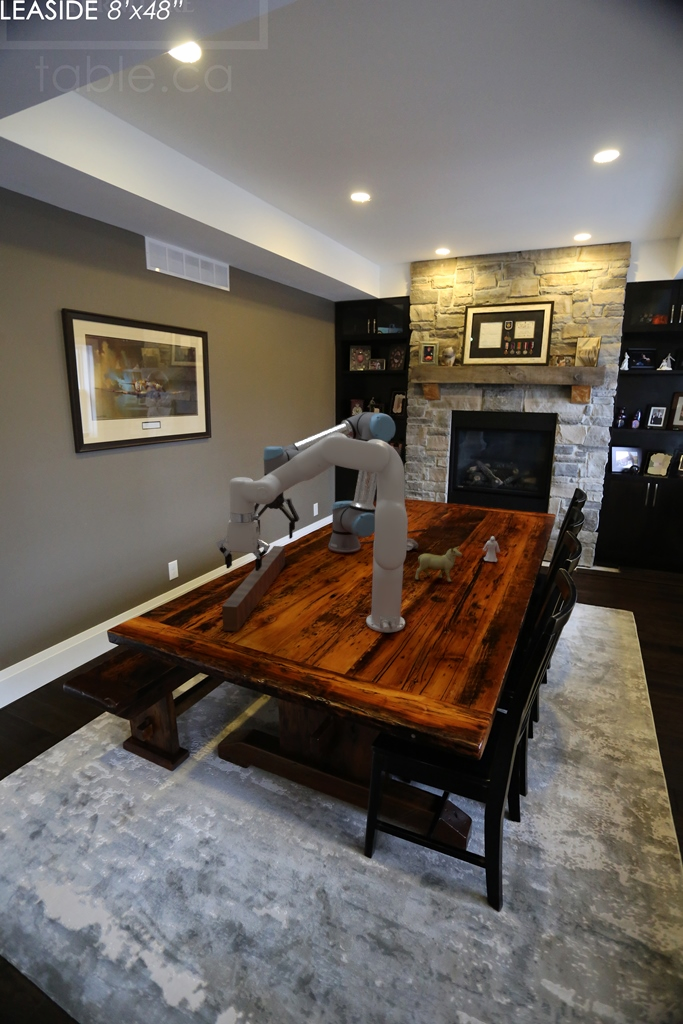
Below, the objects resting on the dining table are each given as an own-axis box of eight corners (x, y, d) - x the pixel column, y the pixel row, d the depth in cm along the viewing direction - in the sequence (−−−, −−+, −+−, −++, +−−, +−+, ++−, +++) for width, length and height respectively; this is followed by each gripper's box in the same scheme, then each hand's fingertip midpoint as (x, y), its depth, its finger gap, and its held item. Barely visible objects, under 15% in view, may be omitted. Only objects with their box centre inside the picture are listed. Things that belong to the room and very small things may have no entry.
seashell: (406, 557, 238) (396, 544, 238) (411, 550, 242) (401, 537, 241) (417, 552, 232) (406, 539, 232) (422, 545, 236) (412, 532, 235)
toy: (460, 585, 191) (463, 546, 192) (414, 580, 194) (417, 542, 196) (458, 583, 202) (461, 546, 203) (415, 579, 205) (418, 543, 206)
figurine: (481, 562, 222) (483, 536, 219) (482, 556, 230) (484, 531, 227) (499, 564, 220) (501, 538, 217) (499, 558, 228) (501, 533, 225)
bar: (237, 631, 156) (236, 607, 154) (223, 630, 156) (221, 605, 154) (285, 565, 215) (284, 546, 212) (274, 564, 215) (274, 545, 213)
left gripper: (306, 485, 201) (306, 535, 206) (246, 482, 204) (247, 532, 209) (302, 488, 194) (302, 541, 199) (240, 486, 197) (242, 537, 202)
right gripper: (272, 515, 159) (272, 566, 163) (220, 512, 162) (222, 562, 166) (265, 521, 152) (266, 574, 156) (211, 518, 155) (213, 570, 159)
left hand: (274, 536), depth 204 cm, fingers open, 13 cm apart
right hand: (243, 568), depth 161 cm, fingers open, 9 cm apart
